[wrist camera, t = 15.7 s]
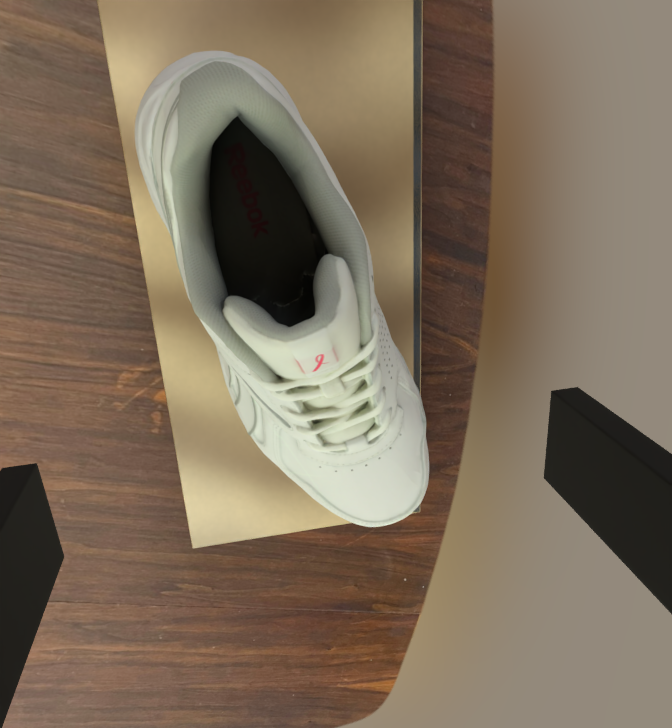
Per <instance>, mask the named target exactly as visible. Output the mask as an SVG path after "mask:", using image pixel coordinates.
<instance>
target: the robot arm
mask: <svg viewBox="0 0 672 728" xmlns="http://www.w3.org/2000/svg"><path fill="white" fill-rule="evenodd" d="M544 479H546V481H547V482H548V483H549V484H550V485H551V486H552V487H553V488H554V489H555V490H556V491H557V492H558V494H559V495H560V496H561V497H562V498H563V499H564V500H565V501H566V502H567V503H568V504H569V505H570V506H571V507H572V508H573V509H574V510H575V512H576V513H577V514H578V515H579V516H580V517H581V518H582V519H583V520H584V521H585V522H586V523H587V524H588V525H589V526H590V528H591V529H592V530H593V531H594V532H595V533H596V534H597V535H598V536H599V537H600V538H601V539H602V540H603V541H604V542H605V544H607V546H608V547H609V548H610V549H611V550H612V551H613V552H614V553H615V554H616V555H617V556H618V557H619V558H620V559H621V560H622V562H623V563H624V564H625V565H626V566H627V567H628V568H629V569H630V570H631V571H632V572H633V573H634V574H635V575H636V576H637V578H638V579H639V580H640V581H641V582H642V583H643V584H644V585H645V586H646V587H647V588H648V589H649V590H650V591H651V592H652V594H653V595H654V596H655V597H656V598H657V599H658V600H659V601H660V602H661V603H662V604H663V605H664V606H665V607H666V608H667V609H668V610H669V612H670V613H671V614H672V454H671V453H669V452H668V451H667V450H665V449H664V448H662V447H661V446H660V445H658V444H657V443H655V442H654V441H653V440H651V439H650V438H648V437H647V436H645V435H644V434H643V433H641V432H640V431H638V430H637V429H636V428H634V427H633V426H631V425H630V424H629V423H627V422H626V421H624V420H623V419H622V418H620V417H619V416H617V415H616V414H614V413H613V412H612V411H610V410H609V409H607V408H606V407H605V406H603V405H602V404H600V403H599V402H598V401H596V400H595V399H593V398H592V397H591V396H589V395H588V394H586V393H585V392H584V391H582V390H581V389H579V388H578V387H576V388H569V389H561V390H555V391H551V402H550V413H549V424H548V437H547V447H546V459H545V470H544ZM63 559H64V554H63V551H62V547H61V544H60V540H59V537H58V534H57V530H56V527H55V523H54V520H53V517H52V513H51V510H50V506H49V503H48V500H47V496H46V493H45V489H44V486H43V483H42V479H41V476H40V472H39V469H38V466H37V463H35V464H28V465H21V466H14V467H7V468H2V469H1V471H0V728H2V726H3V723H4V720H5V718H6V715H7V712H8V709H9V707H10V704H11V701H12V698H13V696H14V693H15V690H16V687H17V685H18V682H19V679H20V676H21V674H22V671H23V668H24V665H25V663H26V660H27V657H28V654H29V652H30V649H31V646H32V644H33V641H34V638H35V635H36V633H37V630H38V627H39V624H40V622H41V619H42V616H43V613H44V611H45V608H46V605H47V602H48V600H49V597H50V594H51V591H52V589H53V586H54V583H55V580H56V578H57V575H58V572H59V569H60V567H61V564H62V561H63Z"/></svg>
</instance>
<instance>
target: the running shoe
mask: <svg viewBox="0 0 672 728" xmlns="http://www.w3.org/2000/svg"><path fill="white" fill-rule="evenodd" d="M135 145H136V151H137V156H138V160H139V165H140V168H141V171H142V174H143V177H144V180H145V183H146V186H147V188H148V191H149V194H150V196H151V199H152V201H153V203H154V205H155V208H156V210H157V212H158V213H159V215H160V217H161V219H162V220H163V222H164V224H165V226H166V227H167V229H168V231H169V233H170V235H171V238H172V242H173V246H174V249H175V255H176V261H177V264H178V268H179V271H180V275H181V277H182V280H183V282H184V285H185V289H186V292H187V295H188V298H189V300H190V302H191V304H192V307H193V310H194V312H195V314H196V315H197V316H198V317H199V319H200V321H201V322H202V324H203V326H204V327H205V329H206V331H207V332H208V334H209V335H210V336H211V338H212V340H213V341H214V343H215V345H216V348H217V352H218V356H219V360H220V364H221V368H222V372H223V376H224V379H225V383H226V386H227V388H228V391H229V393H230V396H231V398H232V401H233V404H234V406H235V408H236V410H237V412H238V415H239V417H240V419H241V421H242V423H243V424H244V426H245V428H246V430H247V433H248V435H250V436H251V437H252V439H253V440H254V442H255V443H256V444H257V446H258V447H259V448H260V450H261V451H262V452H263V453H264V454H265V455H266V456H267V457H268V458H269V459H270V460H271V461H272V462H273V463H275V464H276V465H277V466H278V467H279V468H280V469H281V470H282V471H283V472H284V473H285V474H286V475H287V476H288V477H289V478H290V479H292V480H293V481H294V482H295V483H296V484H297V485H299V486H300V487H301V488H302V489H303V490H304V491H305V492H306V493H308V494H309V495H310V496H311V497H312V498H313V499H314V500H316V501H317V502H318V503H319V504H321V505H322V506H324V507H325V508H326V509H328V510H329V511H331V512H332V513H334V514H336V515H337V516H339V517H341V518H343V519H345V520H347V521H349V522H352V523H355V524H358V525H362V526H367V527H380V526H385V525H390V524H392V523H395V522H398V521H400V520H402V519H404V518H405V517H407V516H408V515H410V514H411V513H412V512H413V511H414V510H415V509H416V508H417V507H418V506H419V505H420V503H421V502H422V500H423V497H424V495H425V492H426V489H427V485H428V478H429V455H428V447H427V441H426V416H425V412H424V409H423V404H422V400H421V396H420V393H419V390H418V388H417V386H416V384H415V383H414V380H413V378H412V375H411V373H410V371H409V369H408V367H407V365H406V362H405V360H404V358H403V356H402V355H401V353H400V351H399V350H398V348H397V347H396V346H395V344H394V342H393V340H392V338H391V335H390V332H389V329H388V326H387V323H386V320H385V317H384V315H383V312H382V310H381V308H380V306H379V303H378V301H377V298H376V295H375V292H374V277H373V266H372V259H371V254H370V249H369V245H368V242H367V239H366V236H365V233H364V231H363V229H362V227H361V225H360V223H359V220H358V218H357V216H356V214H355V212H354V210H353V208H352V206H351V204H350V203H349V201H348V199H347V197H346V195H345V193H344V191H343V189H342V188H341V186H340V183H339V181H338V179H337V177H336V175H335V173H334V171H333V170H332V168H331V166H330V164H329V162H328V161H327V159H326V157H325V155H324V153H323V151H322V150H321V148H320V146H319V145H318V143H317V141H316V140H315V138H314V137H313V135H312V134H311V132H310V131H309V129H308V128H307V126H306V125H305V123H304V122H303V121H302V118H301V116H300V114H299V112H298V109H297V107H296V105H295V104H294V102H293V100H292V98H291V97H290V95H289V94H288V92H287V90H286V89H285V88H284V86H283V85H282V84H281V83H280V82H279V81H278V80H277V79H276V78H275V77H274V76H273V75H272V74H271V73H270V72H269V71H268V70H267V69H265V68H264V67H262V66H261V65H259V64H258V63H256V62H255V61H253V60H251V59H248V58H246V57H242V56H236V55H234V54H232V53H230V52H226V51H203V52H195V53H192V54H190V55H188V56H185V57H183V58H181V59H179V60H177V61H175V62H174V63H172V64H170V65H169V66H167V67H166V68H165V69H164V70H163V71H162V72H161V73H160V74H159V75H158V76H157V77H156V78H155V79H154V80H153V81H152V83H151V84H150V86H149V88H148V89H147V90H146V92H145V94H144V96H143V98H142V100H141V102H140V105H139V108H138V112H137V115H136V120H135Z"/></svg>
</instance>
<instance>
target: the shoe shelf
mask: <svg viewBox="0 0 672 728" xmlns="http://www.w3.org/2000/svg"><path fill="white" fill-rule="evenodd" d="M97 4H98V10H99V16H100V21H101V27H102V33H103V39H104V44H105V50H106V56H107V61H108V67H109V73H110V79H111V84H112V90H113V96H114V101H115V107H116V113H117V119H118V124H119V130H120V136H121V142H122V147H123V153H124V159H125V164H126V170H127V176H128V182H129V187H130V193H131V199H132V205H133V210H134V216H135V222H136V227H137V233H138V239H139V245H140V250H141V256H142V262H143V267H144V273H145V279H146V285H147V290H148V296H149V302H150V308H151V313H152V319H153V325H154V330H155V336H156V342H157V348H158V353H159V359H160V365H161V371H162V376H163V382H164V388H165V393H166V399H167V405H168V411H169V416H170V422H171V428H172V433H173V439H174V445H175V451H176V456H177V462H178V468H179V474H180V479H181V485H182V491H183V496H184V502H185V508H186V514H187V519H188V525H189V531H190V537H191V542H192V548H199V547H205V546H211V545H217V544H224V543H230V542H236V541H242V540H248V539H255V538H261V537H267V536H273V535H279V534H286V533H292V532H298V531H304V530H310V529H317V528H323V527H329V526H335V525H341V524H347V523H352V522H349V521H347V520H345V519H343V518H341V517H339V516H337V515H336V514H334V513H332V512H331V511H329V510H328V509H326V508H325V507H324V506H322V505H321V504H319V503H318V502H317V501H316V500H314V499H313V498H312V497H311V496H310V495H309V494H308V493H306V492H305V491H304V490H303V489H302V488H301V487H300V486H299V485H297V484H296V483H295V482H294V481H293V480H292V479H290V478H289V477H288V476H287V475H286V474H285V473H284V472H283V471H282V470H281V469H280V468H279V467H278V466H277V465H276V464H275V463H273V462H272V461H271V460H270V459H269V458H268V457H267V456H266V455H265V454H264V453H263V452H262V451H261V450H260V448H259V447H258V446H257V444H256V443H255V442H254V440H253V439H252V437H251V436H250V435H248V433H247V430H246V428H245V426H244V424H243V423H242V421H241V419H240V417H239V415H238V412H237V410H236V408H235V406H234V404H233V401H232V398H231V396H230V393H229V391H228V388H227V386H226V383H225V379H224V376H223V372H222V368H221V364H220V360H219V356H218V352H217V348H216V345H215V343H214V341H213V340H212V338H211V336H210V335H209V334H208V332H207V331H206V329H205V327H204V326H203V324H202V322H201V321H200V319H199V317H198V316H197V315H196V314H195V312H194V310H193V307H192V304H191V302H190V300H189V298H188V295H187V292H186V289H185V285H184V282H183V280H182V277H181V275H180V271H179V268H178V264H177V261H176V255H175V249H174V246H173V242H172V238H171V235H170V233H169V231H168V229H167V227H166V226H165V224H164V222H163V220H162V219H161V217H160V215H159V213H158V212H157V210H156V208H155V205H154V203H153V201H152V199H151V196H150V194H149V191H148V188H147V186H146V183H145V180H144V177H143V174H142V171H141V168H140V165H139V160H138V156H137V151H136V145H135V120H136V115H137V112H138V108H139V105H140V102H141V100H142V98H143V96H144V94H145V92H146V90H147V89H148V88H149V86H150V84H151V83H152V81H153V80H154V79H155V78H156V77H157V76H158V75H159V74H160V73H161V72H162V71H163V70H164V69H165V68H166V67H167V66H169V65H170V64H172V63H174V62H175V61H177V60H179V59H181V58H183V57H185V56H188V55H190V54H192V53H195V52H203V51H226V52H230V53H232V54H234V55H236V56H242V57H246V58H248V59H251V60H253V61H255V62H256V63H258V64H259V65H261V66H262V67H264V68H265V69H267V70H268V71H269V72H270V73H271V74H272V75H273V76H274V77H275V78H276V79H277V80H278V81H279V82H280V83H281V84H282V85H283V86H284V88H285V89H286V90H287V92H288V94H289V95H290V97H291V98H292V100H293V102H294V104H295V105H296V107H297V109H298V112H299V114H300V116H301V118H302V121H303V122H304V123H305V125H306V126H307V128H308V129H309V131H310V132H311V134H312V135H313V137H314V138H315V140H316V141H317V143H318V145H319V146H320V148H321V150H322V151H323V153H324V155H325V157H326V159H327V161H328V162H329V164H330V166H331V168H332V170H333V171H334V173H335V175H336V177H337V179H338V181H339V183H340V186H341V188H342V189H343V191H344V193H345V195H346V197H347V199H348V201H349V203H350V204H351V206H352V208H353V210H354V212H355V214H356V216H357V218H358V220H359V223H360V225H361V227H362V229H363V231H364V233H365V236H366V239H367V242H368V245H369V249H370V254H371V259H372V266H373V277H374V292H375V295H376V298H377V301H378V303H379V306H380V308H381V310H382V312H383V315H384V317H385V320H386V323H387V326H388V329H389V332H390V335H391V338H392V340H393V342H394V344H395V346H396V347H397V348H398V350H399V351H400V353H401V355H402V356H403V358H404V360H405V362H406V365H407V367H408V369H409V371H410V373H411V375H412V378H413V380H414V383H415V384H416V386H417V388H418V390H419V393H420V396H421V247H422V41H423V0H97ZM416 512H420V505H419V506H418V507H417V508H416V509H415V510H414V511H413V512H412V513H416Z"/></svg>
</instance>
